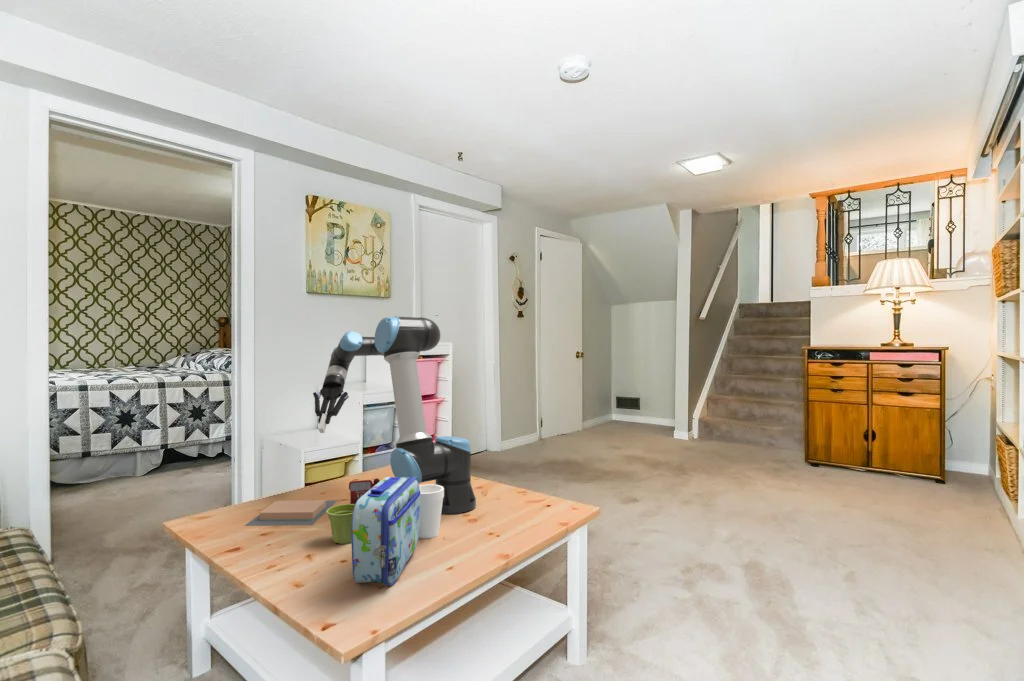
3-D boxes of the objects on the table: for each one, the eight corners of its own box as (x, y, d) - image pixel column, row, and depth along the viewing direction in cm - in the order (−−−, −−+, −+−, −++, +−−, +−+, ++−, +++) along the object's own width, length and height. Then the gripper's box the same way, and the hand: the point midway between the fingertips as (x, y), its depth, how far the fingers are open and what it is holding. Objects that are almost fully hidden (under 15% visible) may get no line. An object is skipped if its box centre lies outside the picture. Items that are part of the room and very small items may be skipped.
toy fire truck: (389, 512, 169) (389, 480, 169) (349, 517, 165) (349, 484, 165) (387, 506, 176) (387, 475, 176) (348, 510, 172) (348, 478, 172)
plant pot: (329, 549, 140) (329, 516, 140) (324, 537, 148) (324, 506, 148) (365, 543, 144) (365, 511, 144) (358, 531, 152) (358, 502, 152)
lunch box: (392, 594, 115) (392, 498, 115) (345, 592, 116) (345, 497, 116) (424, 547, 141) (424, 469, 141) (385, 546, 142) (385, 468, 142)
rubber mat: (278, 502, 180) (278, 500, 180) (337, 502, 180) (337, 500, 180) (244, 527, 156) (244, 525, 156) (312, 527, 156) (312, 525, 156)
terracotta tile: (276, 500, 172) (259, 512, 160) (325, 500, 173) (312, 512, 161) (276, 507, 172) (259, 520, 160) (325, 507, 173) (312, 520, 161)
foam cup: (450, 531, 153) (450, 486, 153) (432, 542, 144) (432, 495, 144) (423, 526, 157) (422, 482, 157) (404, 537, 148) (403, 491, 148)
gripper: (354, 386, 205) (342, 436, 188) (320, 386, 204) (305, 437, 188) (350, 373, 200) (337, 424, 183) (315, 373, 199) (299, 424, 182)
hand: (321, 430), depth 185 cm, fingers closed
